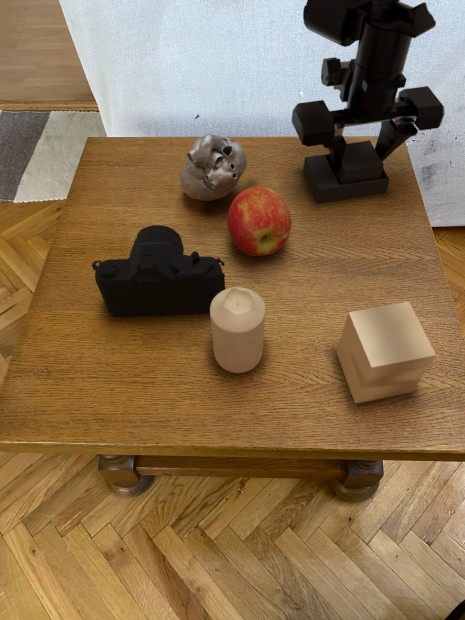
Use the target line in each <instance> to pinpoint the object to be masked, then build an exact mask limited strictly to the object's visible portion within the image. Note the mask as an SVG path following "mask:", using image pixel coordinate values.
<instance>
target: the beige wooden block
mask: <svg viewBox="0 0 465 620" xmlns="http://www.w3.org/2000/svg"><path fill="white" fill-rule="evenodd" d="M335 353H336V356H337V359H338V361H339V364H340V367H341V369H342V372H343V375H344V377H345V380H346V383H347V386H348V389H349V391H350V393H351V396H352V399H353V402H354V404H359V403H365V402H370V401H376V400H380V399H385V398H390V397H395V396H400V395H405V394H410V393H413V391H414V390H415V388H417V385H418V384H419V382H420V381H421V380H422V378H423V376H424V375H425V373H426V372H427V370H428V369H429V368H430V366H431V364H432V362H433V361H434V360H435V358H436V357H437V353H436V351H435V349H434V348H433V346H432V343H431V342H430V340H429V338H428V335H427V333H426V332H425V330H424V328H423V326H422V323H421V322H420V320H419V318H418V316H417V314H416V312H415V311H414V308H413V306H412V304H411V302H410V301H409V300H408V301H403V302H397V303H392V304H386V305H381V306H376V307H375V306H374V307H369V308H365V309H364V308H363V309H359V310H358V309H357V310H353V311H348V313H347V317H346V320H345V322H344V326H343V329H342V332H341V336H340V338H339V341H338V345H337V348H336V351H335Z"/></svg>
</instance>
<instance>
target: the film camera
mask: <svg viewBox="0 0 465 620" xmlns="http://www.w3.org/2000/svg"><path fill="white" fill-rule="evenodd" d="M182 240H183V239H182V237H181V235H180V234H179V232H177V231H176V230H175V229H173V228H171V227H170V226H167V225H163V224H160V225H159V224H152V225H148V226H145V227H143V228H141V229H140V230H139V231H138V232H137V234H136V237H135V239H134V241H133V245H132V246H131V250H130V251H129V257H128V258H116V259H111V258H110V259H106V260H103V261H102V260H94V261H93V262H92V263H91V267H92V269H93V271H95V272H94V279H95V283H96V286H97V288H98V291H99V293H100V295H101V298H102V300H103V303H104V305H105V309H106V310H107V311H108V313H109V314H111V315H112V316H114V317H146V316H147V317H149V316H150V317H151V316H184V315H201V314H202V315H203V314H210V306H211V303H212V300H213V299H214V298H215V296H216V295H217V294H219V293H220V292H221V291H223V290H226V280H225V279H226V274H225V272H224V273H223V269H222V267H224V266H225V262H224V261H223V260H222V259H220V258H219V257H218V258H216V257H214V256H212V255H209V256H208V255H207V256H200V254H199V251H197V250H194V251H192V253H190V255H189V254H184V253H185V251H184V244H183V241H182ZM97 264H98V265H97Z"/></svg>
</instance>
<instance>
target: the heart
mask: <svg viewBox="0 0 465 620" xmlns="http://www.w3.org/2000/svg"><path fill="white" fill-rule="evenodd" d="M192 144H193V145H192V146H191V148H190V150H189V151H187V152H186V156H187V158H186V159H185V161H184V163H183V164H182V166H181V169H180V172H179V182H180V186H181V190H182V191H183V193H185V195H186V196H187V197H189V198H190V199H193V200H199V201H205V202H206V201H207V202H209V201H210V202H211V201H214V200H219V199H222V198H224V197H226V196H228V193H230V192H232V191H234V189H235V188H237V185H238V184H239V181H240V179H241V177H242V176H243V175H244V173H245V171H246V169H247V164H248V160H247V156H246V154H245V151H244V149H243V146H242V144H241V143H240V142H238V141H236V140H235V139H233V138H230V137H228V136H224V135H216V134H211V133H206V134H204V135H202V137H198V138H197V139H196V140H195V141H194V143H192Z"/></svg>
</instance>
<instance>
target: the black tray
mask: <svg viewBox="0 0 465 620" xmlns="http://www.w3.org/2000/svg"><path fill="white" fill-rule="evenodd" d="M302 172H303V174H304V176H305V178H306V181H307V183H308V186H309V188H310V190H311V193H312V195H313V197H314V200H315V201H316V204H322V203H329V202H335V201H341V200H347V199H356V198H362V197H368V196H374V195H381V194H386V192H387V189H388V185H389V182H390V178H389V175H388V174H387V172H386V170H385V168H383V170H382V174H381V177H380V179H377V180H371V181H365V182H359V183H352V184H345V185H342V184H340V183H339V181H338V179H337V177H336V174H335V173H334V171H333V168H332V163H331V161H330V154H329V153H326V154H319V155H311V156H305V157H304V161H303V170H302Z"/></svg>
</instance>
